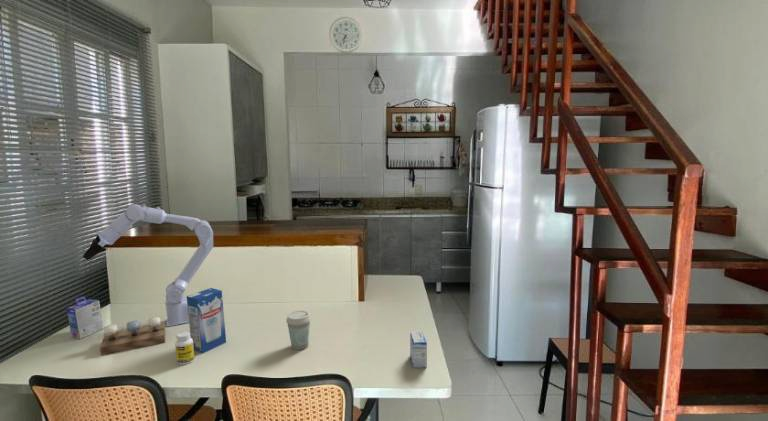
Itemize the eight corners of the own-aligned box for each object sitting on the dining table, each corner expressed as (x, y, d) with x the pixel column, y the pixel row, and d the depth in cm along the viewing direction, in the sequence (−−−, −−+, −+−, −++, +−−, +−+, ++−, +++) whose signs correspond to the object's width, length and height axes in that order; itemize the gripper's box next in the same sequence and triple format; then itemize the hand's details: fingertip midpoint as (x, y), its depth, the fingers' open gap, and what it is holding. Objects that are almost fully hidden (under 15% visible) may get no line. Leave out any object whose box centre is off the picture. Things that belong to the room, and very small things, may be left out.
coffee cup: (291, 354, 145) (289, 321, 143) (285, 344, 153) (283, 313, 151) (315, 348, 149) (313, 316, 147) (308, 338, 157) (306, 308, 155)
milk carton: (202, 353, 147) (197, 299, 144) (191, 349, 150) (186, 296, 147) (226, 342, 156) (221, 290, 152) (215, 338, 159) (211, 287, 156)
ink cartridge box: (94, 327, 172) (89, 293, 169) (104, 328, 170) (99, 294, 168) (69, 337, 162) (64, 301, 160) (80, 339, 161) (74, 303, 158)
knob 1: (118, 334, 156) (117, 323, 155) (117, 339, 153) (116, 327, 152) (106, 337, 154) (104, 325, 154) (104, 341, 151) (103, 330, 150)
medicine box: (410, 356, 142) (409, 331, 141) (423, 355, 143) (422, 331, 141) (413, 368, 134) (413, 342, 133) (427, 367, 135) (427, 342, 133)
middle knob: (140, 330, 159) (139, 319, 159) (139, 334, 156) (138, 323, 155) (128, 333, 157) (126, 322, 157) (127, 337, 154) (125, 325, 153)
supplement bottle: (176, 366, 139) (173, 338, 137) (177, 359, 144) (174, 332, 142) (194, 362, 141) (191, 335, 139) (194, 355, 146) (192, 329, 144)
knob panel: (165, 330, 167) (164, 323, 166) (164, 342, 156) (164, 335, 156) (105, 341, 158) (104, 334, 158) (101, 355, 147) (99, 347, 147)
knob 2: (161, 326, 162) (160, 316, 162) (161, 330, 159) (159, 319, 158) (149, 329, 161) (148, 318, 160) (149, 333, 157) (147, 321, 156)
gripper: (109, 219, 166) (81, 244, 162) (104, 225, 153) (73, 253, 150) (124, 231, 168) (97, 256, 165) (121, 238, 156) (91, 265, 153)
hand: (87, 255), depth 158 cm, fingers open, 7 cm apart
